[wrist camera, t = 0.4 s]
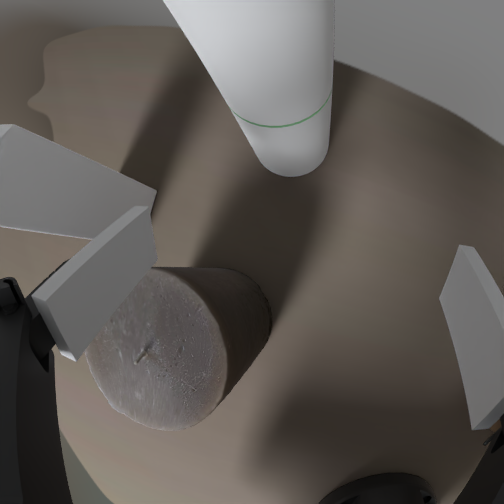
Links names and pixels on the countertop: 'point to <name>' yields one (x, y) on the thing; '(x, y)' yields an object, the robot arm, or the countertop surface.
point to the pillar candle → (179, 344)
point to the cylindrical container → (269, 72)
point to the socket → (496, 426)
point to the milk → (60, 188)
